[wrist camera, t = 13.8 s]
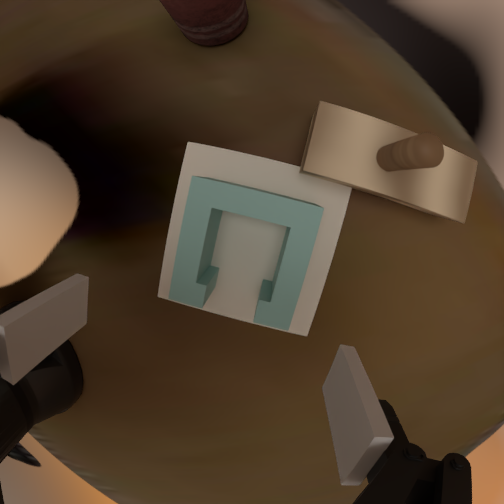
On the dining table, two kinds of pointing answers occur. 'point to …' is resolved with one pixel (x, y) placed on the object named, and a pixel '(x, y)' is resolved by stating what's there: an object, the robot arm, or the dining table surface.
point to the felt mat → (256, 233)
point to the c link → (205, 233)
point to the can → (208, 19)
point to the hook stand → (388, 162)
